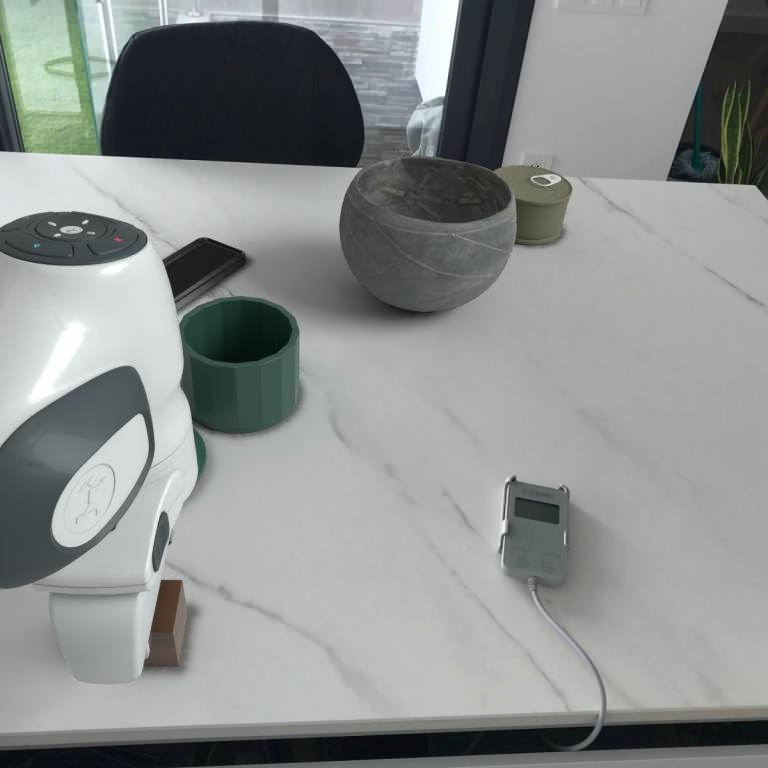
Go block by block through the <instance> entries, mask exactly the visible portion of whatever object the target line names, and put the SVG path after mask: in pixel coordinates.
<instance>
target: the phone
mask: <svg viewBox="0 0 768 768" xmlns="http://www.w3.org/2000/svg"><path fill="white" fill-rule="evenodd" d="M162 261H163V263H164V266H165V269H166V272H167V275H168V279H169V282H170V286H171V289H172V293H173V298H174V302H175V306H176V311H178V310H180V309H181V308H183V307H185V306H186V305H187V304H189V303H190V302H191V301H193V300H194V299H196V298H198V297H199V296H200V295H202V294H204V293H205V292H206V291H208V290H209V289H211V288H212V287H214V286H215V285H216V284H218V283H220V282H221V281H223V280H224V279H225V278H227V277H228V276H230V275H231V274H232V273H234V272H236V271H237V270H239V269H240V268H241V267H243V266H244V265H246V263H247V254H246V252H245V251H244V250H242V249H239V248H237V247H234V246H231V245H229V244H226V243H224V242H221V241H219V240H215V239H213V238H211V237H207V236H202V237H198V238H196V239H194V240H193V241H191V242H190V243H188V244H186V245H185V246H183V247H181V248H179V249H178V250H176V251H174V252H173V253H171V254H170V255H168V256H166V257H165V258H163V259H162Z"/></svg>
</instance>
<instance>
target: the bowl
mask: <svg viewBox="0 0 768 768" xmlns="http://www.w3.org/2000/svg"><path fill="white" fill-rule="evenodd" d="M493 171H494V170H492V169H489V168H487V167H484V166H480V165H479V164H474V163H471V162H465V161H461V160H460V161H459V160H455V159H449V158H443V157H440V156H439V157H438V156H427V155H426V156H425V155H410V156H409V155H408V156H400V157H393V158H390V159H384V160H380V161H378V162H375V163H374V162H373V163H371V164H368V165H366V166H364V167H362V168H361V169H360V170H358V172H357V173H356V174H355V175H354V177H353V178H352V179H351V181H350V183H349V185H348V187H347V190H345V191H346V192H345V193H344V197H343V200H342V204H341V209H340V214H339V222H338V232H339V234H338V235H339V240H340V241H339V242H340V247H341V251H342V255H343V258H344V260H345V262H346V264H347V265H348V267H349V269H350V272H351V273H352V275H353V276H354V277H355V278H356V279H357V281H358V282H359V283H360V284H361V286H362V287H363V289H365V290H366V291H368V293H370V294H371V295H372V296H373V297H374V298H376V299H377V300H379V301H381V302H383V303H385V304H387V305H390V306H392V307H396V308H399V309H403V310H407V311H412V312H422V313H423V312H424V313H428V312H443V311H444V312H445V311H449V310H454V309H457V308H459V307H463V306H464V305H466V304H468V303H470V302H472V301H473V300H475V299H477V298H479V297H481V295H483V294H484V293H485V292H486V291H488V290H489V289H490V288H491V287H492V286H493V285H494V284H495V283H496V282H497V280H499V278H500V276H501V275H502V273H503V272H504V269H505V268H506V266H507V264H508V262H509V259H510V257H511V253H513V251H514V247H515V244H516V243H515V239H516V231H517V224H516V221H517V213H516V201H515V196H514V193H513V190H512V187H511V186H510V185H509V184H508V183H507V182H506V181H505V180H504V179H503V178H502V177H500V175H498V174H496V173H495V172H493Z"/></svg>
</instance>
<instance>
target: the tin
mask: <svg viewBox="0 0 768 768" xmlns="http://www.w3.org/2000/svg"><path fill="white" fill-rule="evenodd" d="M179 328H180V334H181V341H182V348H183V357H184V366H183V373H182V377H181V382H182V390H183V392H184V394H185V396H186V398H187V400H188V403H189V406H190V411H191V417H192V418H193V419H194V420H195V421H197V422H198V423H200V424H201V425H203V426H204V427H207V428H209V429H211V430H214V431H219V432H223V433H229V434H230V433H231V434H247V433H254V432H260V431H263V430H266V429H269V428H272V427H273V426H275V425H277V424H279V423H280V422H282V421H283V420H285V419H286V418H287V417H288V416H290V414H291V413H292V412H293V410H294V409H295V407H296V405H297V403H298V398H299V393H300V348H301V347H300V346H301V345H300V338H301V337H300V333H301V332H300V327H299V324H298V322H297V319H296V317H295V316H294V315H293V314H292V313H291V312H290V311H289V310H288V309H286V308H285V307H284V306H283V305H281V304H278V303H275V302H273V301H270V300H268V299H266V298H262V297H261V298H260V297H253V296H244V295H239V296H230V297H229V296H226V297H219V298H214V299H213V300H210V301H206V302H203V303H201V304H198V305H196V306H195V307H194V308H192V309H191V310H190V311H188V312H187V313H185V314H184V315H183V316H182V317H181V320H180V322H179Z"/></svg>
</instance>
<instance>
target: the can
mask: <svg viewBox="0 0 768 768" xmlns="http://www.w3.org/2000/svg"><path fill="white" fill-rule="evenodd" d="M492 171H493V172H495V173H496V174H498V175H500V177H502V178H503V179H504V180H505V181H506V182H507V183H508V184H509V185H510V186H511V187H512V190H513V193H514V196H515V201H516V213H517V221H516V224H517V231H516V239H515V243H514V244H520V245H526V246H537V245H538V246H539V245H544V244H548V243H552V242H554V241H556V240H557V239H558V238H559V237H560V235H561V233H562V228H563V225H564V220H565V217H566V213H567V209H568V205H569V201H570V198H571V196H572V195H573V186H572V184H571V182H569V180H568V179H566V177H564V176H563V175H561V174H559V173H557V172H555V171H552V170H549V169H546V168H543V167H539V166H534V165H533V166H532V165H525V164H524V165H523V164H514V165H505V166H502V167H499V168H496V169H494V170H492Z"/></svg>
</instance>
